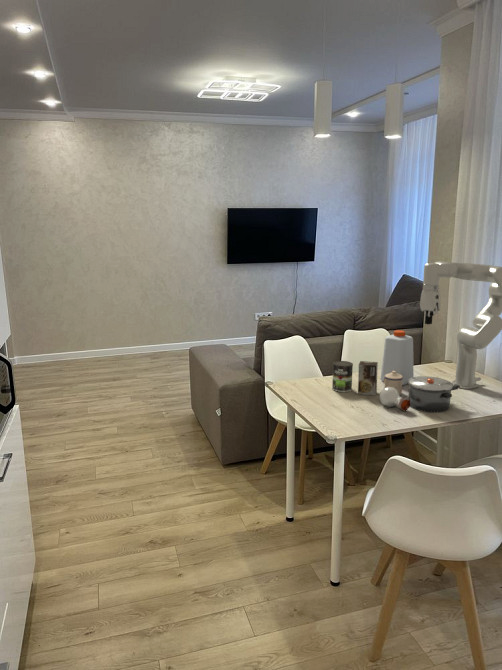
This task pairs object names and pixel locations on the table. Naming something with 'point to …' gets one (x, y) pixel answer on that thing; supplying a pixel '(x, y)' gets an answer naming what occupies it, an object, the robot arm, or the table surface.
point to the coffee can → (342, 376)
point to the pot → (430, 399)
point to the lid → (430, 383)
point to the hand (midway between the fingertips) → (428, 323)
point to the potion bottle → (394, 399)
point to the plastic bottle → (398, 356)
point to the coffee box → (367, 378)
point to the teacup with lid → (394, 381)
